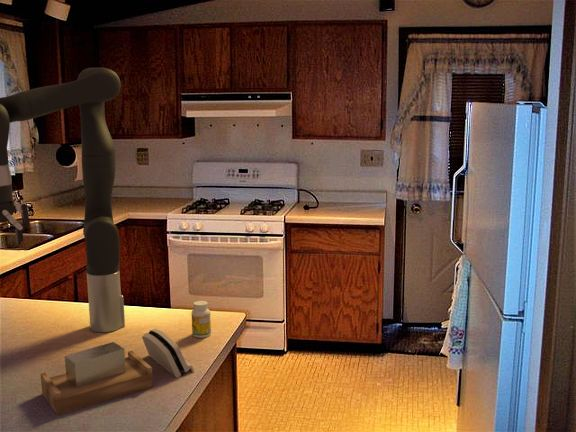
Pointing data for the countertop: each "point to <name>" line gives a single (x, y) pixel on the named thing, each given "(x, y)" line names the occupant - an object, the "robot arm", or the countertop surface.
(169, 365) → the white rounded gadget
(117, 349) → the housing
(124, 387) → the stand
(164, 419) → the countertop surface
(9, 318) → the countertop surface
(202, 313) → the supplement bottle
